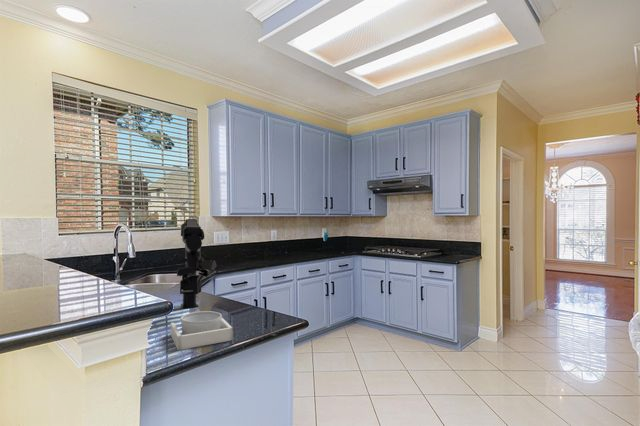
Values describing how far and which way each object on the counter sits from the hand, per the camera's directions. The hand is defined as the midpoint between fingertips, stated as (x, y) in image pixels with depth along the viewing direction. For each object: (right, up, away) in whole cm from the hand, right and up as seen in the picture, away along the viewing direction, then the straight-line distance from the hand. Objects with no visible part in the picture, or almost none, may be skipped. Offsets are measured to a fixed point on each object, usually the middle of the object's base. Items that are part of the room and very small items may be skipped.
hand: (196, 294), depth 132 cm
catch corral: (+9, -10, -20) cm, 24 cm away
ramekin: (+9, -10, -19) cm, 23 cm away
